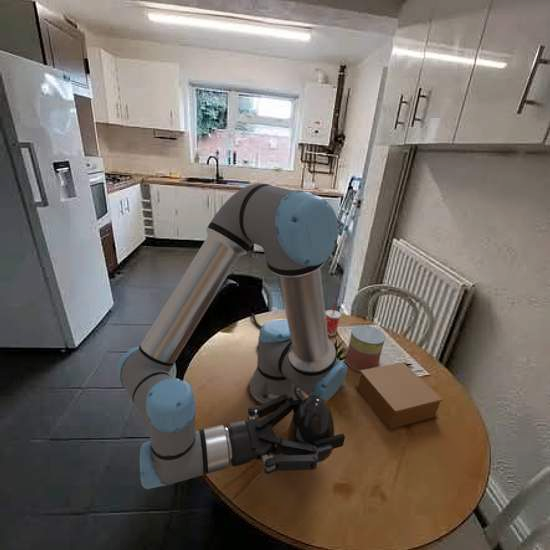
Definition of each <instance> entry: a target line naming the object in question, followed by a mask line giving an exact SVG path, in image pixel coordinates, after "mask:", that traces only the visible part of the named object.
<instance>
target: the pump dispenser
mask: <svg viewBox="0 0 550 550" xmlns="http://www.w3.org/2000/svg"><path fill="white" fill-rule="evenodd" d="M294 395H295V396H296V397H297V400H299V401H300V402H301V404H300V405H299V407H298V408H297V409H296V411H295V413H294V412H293V414H292V417H291V419H290V422H289V424H288V428H287V434H286V440H287V441H292V442H298V443H303V444H308V445H313V444H314V441H317V440H320V439H324V438H328V437H332V436H335V435H336V433H335V423H334V419H333V413H332V411H331V409H330V406H329V404H328V403H327V401H325V400H324V399H323V398H321V397H319V396H310V397H309V396H308V397H306V396H304V395H303V394H302V393H301V392H300V391H298V390H296V391H295V392H294ZM333 451H334V449H332V450H331V453H329V454H326V455H323V456H319V457H318V461H317V466H318V465H320V464H322V463H324V462H325V461H327V459H328V458H329V457H330V456H332V453H333Z"/></svg>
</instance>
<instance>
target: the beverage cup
mask: <svg viewBox="0 0 550 550" xmlns="http://www.w3.org/2000/svg"><path fill="white" fill-rule="evenodd" d="M336 304H337V302H336V301H335V302H334V305H333V309H328V310H325V317H326V325H327V334H328V336H330V337H332V336H335V335H336V334H337V330H338V327H339V323H340V319H341V317H342V313H341V312H340V311H338V310H336Z"/></svg>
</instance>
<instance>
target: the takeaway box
mask: <svg viewBox="0 0 550 550" xmlns="http://www.w3.org/2000/svg"><path fill="white" fill-rule="evenodd" d="M359 373H360V375H359V380H358V385H357V390H358V391H359V392H360V394H361V395H362V396H363V398H364V399H365V400H366V401H367V402H368V404H369V405H370V406H371V407H372V409H373V410H374V411H375V413H376V414H377V415H378V416H379V418H380V419H381V420H382V422H383V423H384V424H385V425H386V426H387V428H388V430H392V429H395V428H399V427H403V426H407V425H410V424H411V425H412V424H414V423H418V422H422V421H425V420H429V419H433V418H436V414H437V411H438V409H439V406H440V404H441V402H443V401H444V398H442V396H440V395H439V393H437V392H436V391H435V390H434V389H433V388H432V387H430V385H428V384H427V383H426V382H425V381H424V380H423V379H422V378H421V377H420V376H419V375H418V374H416V373H415V371H413V370H412V369H411V368H410V367H409V366H408V365H407V364H406V363H404V362H403V361H402V362H398V363H391V364H386V365H382V366H378V367H375V368H370V369H365V370H360V372H359Z"/></svg>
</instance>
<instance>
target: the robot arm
mask: <svg viewBox="0 0 550 550" xmlns="http://www.w3.org/2000/svg"><path fill="white" fill-rule="evenodd" d="M205 231H206V235H207V236H206V238H205V240H204V242H203V243H202V245H201V247H200V248H199V250H198V251H197V253H196V255H195V256H194V258H193V259H192V261H191V263H190V264H189V265H188V267H187V268H186V270H185V272H184V274H183V275H182V277H181V279H180V280H179V282H178V284H177V285H176V286H175V288H174V290H173V292H172V293H171V295H170V296H169V298H168V299H167V300H166V303H165V305H164V306H163V307H162V309H161V311H160V312H159V314H158V316H157V317H156V319H155V321H154V322H153V323H152V325H151V327H150V329H149V331H148V332H147V334H146V336H145V337H144V338H143V340H142V341H141V343H140V345H139V346H135V347H133V348H130V349H128V350H127V351H126V352H125V353H123V354H122V355H121V356H120V357H119V359H118V361H117V364H116V373H117V376H118V378H119V381H120V384H121V386H122V387H123V388H124V389H125V391H126V393H127V394H128V395H129V397H130V399H131V401H132V403H133V404H134V406H135V408H136V409H137V411H138V414H140V416H141V418H142V420H143V421H144V423H145V425H146V426H147V429H148V433H149V440H147V441H145V442H144V443H143V442H142V444H141V447H140V450H139V472H140V475H139V477H140V484H141V486H142V487H143V488H144V489H145V490H150V489H155V488H159V487H169V486H170V485H173V484H178V483H180V482H185V481H188V480H190V479H194V478H198V477H201V476H204V475H207V474H212V473H216V472H219V471H222V470H227V469H228V468H230V465H231V466H232V467H235V468H236V467H239V466H242V465H246V464H249V463H251V462H252V461H254V460H259V461H261V462H262V465H263V467H264V469H263V472H264V474H265V475H270V474H272V473H275V472H279V471H280V472H282V471H283V472H284V471H312V470H316V469H317V467H318V465H317V461H318V457H319V456H323V455H326V454H329V453H331V450H332V449H333V450H334V449H337V448H341V447H344V444H345V439H346V436H345V434H344V433H339V434H335V436H332V437H328V438H324V439H320V440H317V441H314V444H313V445H308V444H303V443H298V442H292V441H287V439H283V438H282V437H280V436H277V434H276V433H275V431H274V427H275V426H276V425H278V424H279V423H280V422H282V420H283V419H285V418H286V417H287V416H288V415H290V414H291V413H292V412H293V414H294V413H295V411H296V409H297V408H298V407H299V405H300V404H301V402H300V401H299V400H298V398H297V397H296V396H295V395H294V392H295V391H296V390H298V391H299V392H300V390H301V391H302V392H303V393H305V395H307V396H308V397H310V396H319V397H321V398H323V399H324V400H325V401H326V402H328V401H329V400H330V399H331V398H333V396H334V395H335V394H336V393H337V392H338V391H339V389H340V388H341V386H342V385H343V383H344V381H345V379H346V377H347V374H348V365H347V363H344V361H343V360H340V359H338V357H337V350H336V346H335V345H334V343H333V341H332V340H331V339H329V335H328V334H327V325H326V310H325V309H326V308H325V299H324V291H323V290H324V289H323V283H322V281H323V280H322V274H321V273H322V272H321V268H323V266H324V265H325V264H326V262H327V260H328V259H329V258H330V256H331V255H332V253H333V251H334V250H335V247H336V244H335V241H337V240H338V237H339V236H338V235H339V221H338V217H337V214H336V211H335V210H334V207H333V206H332V205H331V203H330V202H328V201H327V200H326V199H325V198H323V197H321V196H319V195H315V194H313V193H311V192H309V191H306V190H294V189H290V188H285V187H280V186H277V185H272V184H269V183H262V182H261V183H260V182H259V183H252V184H249V185H246V186H244V187H243V188H241V189H239V190H238V191H236V192H235V193H234V194H232V195H231V196H230V198H228V199H227V200H226V201H225V202H224V204H222V205H221V207H220V208H219V210H217V212H216V213H215V215H214V216H213V218H212V219H211V221H210V222H209V224H208V226H207V227H206V229H205ZM253 245H257V246H259V247H261V248H262V249H263V254H264V258H265V261H266V266H267V268H268V270H269V271H270V272H271V273H272V274H274V275H276V276H277V279H278V285H279V288H280V293H281V298H282V304H283V307H284V312H285V318H276V319H271V320H268V321H266V322H265V323H263V324H262V325H260V323H258V321H257V319H256V315H255V313H253V312H251V313H250V316H252V320H253V322H254V324H255V326H256V327H258V328H259V335H258V344H257V362H256V363H257V365H256V368H255V370H254V372H253V374H252V377H251V379H250V383H249V393H250V396H251V397H252V399H253V400H254V401H255V402H256V403H257V404H258V406H250V407H248V408H247V421H245V420H243V419H242V420H241V419H240V420H237V421H233V422H228V423H227V424H226V426H225V425H224V424H218V425H214V426H210V427H205V428H202V429H198V430H196V406H197V405H196V399H195V396H194V390H193V387H192V386H191V384H190V383H189V382H188V381H186V380H181V379H180V378H175V377H172V376H171V375H170V371H171V370H172V368H173V366H174V364H175V362H176V361H177V360H178V358H179V356H180V354H181V353H182V351H183V349H184V348H185V346H186V344H187V343H188V342H189V339H190V338H191V336H192V334H193V333H194V331H195V330H196V328H197V326H198V325H199V323H200V321H201V320H202V318H203V317H204V315H205V313H206V312H207V310H208V309H209V307H210V306H211V304H212V303H213V301H214V299H215V297H216V295H217V294H218V292H219V290H220V289H221V288H222V285H224V283H225V281H226V279H227V277H228V276H229V274H230V273H231V272H232V270H233V268H234V266H235V264H236V263H237V261H238V260H239V258H240V257H241V256H245V255H247V254H248V253H249V251H250V250H251V248H252V247H253ZM262 418H263V419H262ZM260 419H261V420H260ZM331 454H332V453H331ZM274 455H275V456H274Z"/></svg>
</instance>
